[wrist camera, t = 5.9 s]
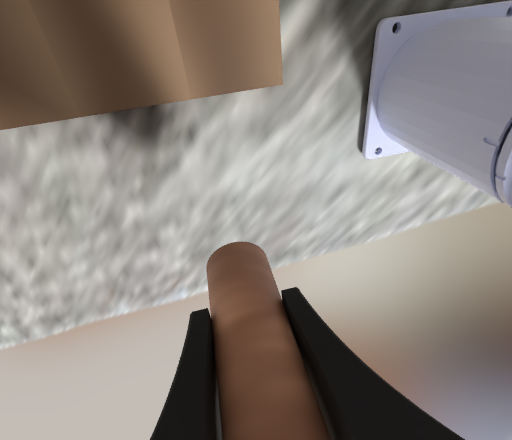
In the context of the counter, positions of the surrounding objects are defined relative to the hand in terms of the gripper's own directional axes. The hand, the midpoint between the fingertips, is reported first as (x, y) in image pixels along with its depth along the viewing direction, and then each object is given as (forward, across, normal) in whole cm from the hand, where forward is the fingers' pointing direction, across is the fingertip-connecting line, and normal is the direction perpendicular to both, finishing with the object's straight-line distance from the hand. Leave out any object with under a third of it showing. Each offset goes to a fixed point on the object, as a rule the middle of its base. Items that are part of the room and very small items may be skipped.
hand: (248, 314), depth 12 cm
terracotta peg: (+3, 0, 0) cm, 3 cm away
